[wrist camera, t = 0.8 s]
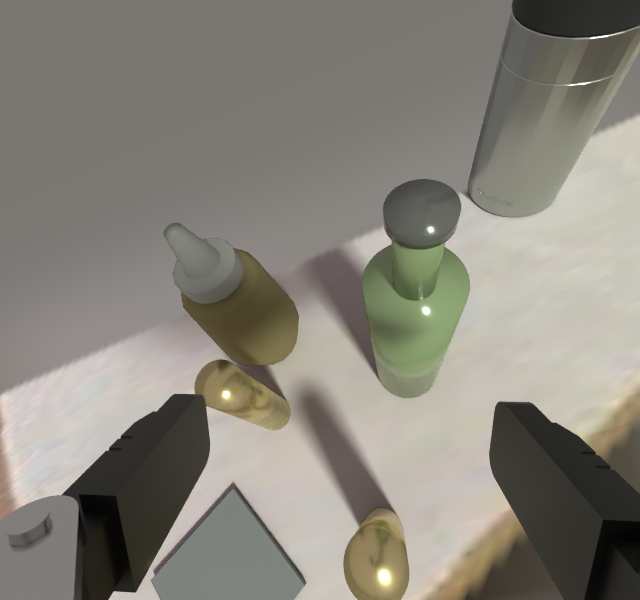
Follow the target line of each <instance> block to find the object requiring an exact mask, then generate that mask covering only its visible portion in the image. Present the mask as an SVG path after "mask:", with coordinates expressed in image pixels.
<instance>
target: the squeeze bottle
mask: <svg viewBox="0 0 640 600" xmlns="http://www.w3.org/2000/svg"><path fill="white" fill-rule="evenodd" d="M164 236H165V238H166V240H167V242H168V243H169V245H170V247H171V249H172V250H173V252H174V254H175V256H176V258H177V259H178V260H177V261H176V264H175V268H174V271H173V276H174V282H175V284H176V285H177V287H178V288H179V289H180V290H181V291H182V293H181V296H182V302H183V307H184V308H185V309H186V311H187V312H188V313H189V314H190V316H191V317H192V318H193V319H194V320H195V321H196V322H197V323H198V324H199V325H200V326H201V328H202V329H203V330H204V331H205V332H206V333H207V334H208V335H209V336H210V337H211V338H212V339H213V340H214V341H215V342H216V343H217V345H218V346H219V347H220V348H221V349H222V350H223V351H224V352H225V353H226V354H227V355H228V356H229V357H230V358H231V359H232V360H234V361H236V362H238V363H241V364H243V365H245V366H249V365H273V364H275V363H278V362H280V361H282V360H284V359H285V358H286V357H287V356H288V355H289V354H290V353H291V352H292V350H293V348H294V346H295V344H296V340H297V333H298V320H299V315H298V312H297V310H296V307H295V304H294V302H293V301H292V300H291V299H290V298H289V296H288V295H287V294H286V293H285V292H284V291H283V290H282V288H281V287H280V286H279V285H278V284H277V283H276V282H275V280H274V279H273V278H272V277H271V276H270V275H269V274H268V273H267V272H266V270H265V269H264V268H263V267H262V266H261V264H260V263H259V262H258V261H257V260H256V259H255V258H254V257H253V256H252V255H250V254H249V253H248V252H245V251H242V250H238V249H234V248H233V247H232V246H231V245H230V244H229V243H228V242H227V241H225V240H221V239H218V238H211V239H203V240H202V239H201V238H199V237H198V236H196V235H195V234H194V233H192V232H191V231H189V230H188V229H186V228H185V227H184V226H182V225H181V224H179V223H173V224H170V225H169V226H168V227H166V229H165V231H164Z"/></svg>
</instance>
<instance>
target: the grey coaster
mask: <svg viewBox="0 0 640 600" xmlns="http://www.w3.org/2000/svg"><path fill="white" fill-rule="evenodd" d="M151 582H152V584H153V586H154V588H155V590H156V592H157V594H158V596H159V598H160V600H294V599H295V597H296V596H297V595H298V593H299V592H300V591H301V590H302V588H303V587H304V586H305V584H306V582H305V581H304V580H303V578H302V577H301V575H300V574H299V573H298V571H297V570H296V569H295V567H294V566H293V565H292V563H291V562H290V561H289V559H288V558H287V557H286V555H285V554H284V553H283V551H282V550H281V548H280V547H279V546H278V544H277V543H276V542H275V540H274V539H273V538H272V536H271V535H270V534H269V532H268V531H267V530H266V528H265V527H264V526H263V524H262V523H261V522H260V520H259V519H258V517H257V516H256V515H255V513H254V512H253V511H252V509H251V508H250V507H249V505H248V504H247V503H246V501H245V500H244V499H243V497H242V496H241V495H240V493H239V492H238V491H237V489H236V488H233V489H232V490H231V491H230V492H229V493H228V495H227V496H226V497H225V498H224V499H223V500H222V501H221V502H220V504H219V505H218V506H217V507H216V508H215V509H214V510H213V511H212V512H211V514H210V515H209V516H208V517H207V518H206V519H205V520H204V521H203V523H202V524H201V525H200V526H199V527H198V528H197V529H196V530H195V531H194V533H193V534H192V535H191V536H190V537H189V538H188V539H187V540H186V541H185V543H184V544H183V545H182V546H181V547H180V548H179V549H178V550H177V552H176V553H175V554H174V555H173V556H172V557H171V558H170V559H169V560H168V562H167V563H166V564H165V565H164V566H163V567H162V568H161V569H160V571H159V572H158V573H157V574H156V575H155V576H154V577H153V578H152V579H151Z"/></svg>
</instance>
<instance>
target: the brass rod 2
mask: <svg viewBox="0 0 640 600" xmlns="http://www.w3.org/2000/svg"><path fill="white" fill-rule="evenodd" d="M344 574H345V578H346V581H347V584H348V586H349V588H350V590H351V592H352V593H353V595H354V596H355V597H356V598H357V599H358V600H401V598H402V597H403V595H404V594H405V592H406V589H407V586H408V581H409V565H408V558H407V551H406V544H405V537H404V531H403V526H402V523H401V521H400V519H399V518H398V516H397V515H396V514H395V513H394V512H392V511H391V510H389V509H386V508H378V509H375V510H373V511H372V512H371V513H370V514H369V515H368V516H367V518H366V519H365V521H364V522H363V523H362V525H361V526H360V528H359V529H358V530H357V532H356V533H355V535H354V536H353V537H352V539H351V540H350V542H349V543H348V545H347V548H346V551H345V555H344Z"/></svg>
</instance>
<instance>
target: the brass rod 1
mask: <svg viewBox="0 0 640 600" xmlns="http://www.w3.org/2000/svg"><path fill="white" fill-rule="evenodd" d="M195 394H200V395H203V397H204V399H205V403H206V406H208V407H211V408H214V409H216V410H219V411H222V412H224V413H227V414H230V415H232V416H235V417H238V418H240V419H243V420H246V421H248V422H251V423H254V424H256V425H259V426H262V427H264V428H267V429H270V430H278V429H281V428H282V427H284V426H285V425H286V424H287V422H288V420H289V418H290V413H291V412H290V406H289V404H288V403H287V401H286V400H284V399H283V398H281V397H280V396H279V395H277V394H276V393H274V392H273V391H271V390H270V389H268V388H267V387H266V386H264V385H263V384H261V383H260V382H258V381H257V380H255V379H254V378H253V377H251V376H250V375H248V374H247V373H245V372H244V371H243V370H241V369H240V368H238V367H237V366H235V365H234V364H232V363H231V362H229V361H227V360H215V361H212V362H210V363H208V364H207V365H206V366H204V367H203V368H202V370H201V371H200V372H199V374H198V376H197V378H196V381H195Z"/></svg>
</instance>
